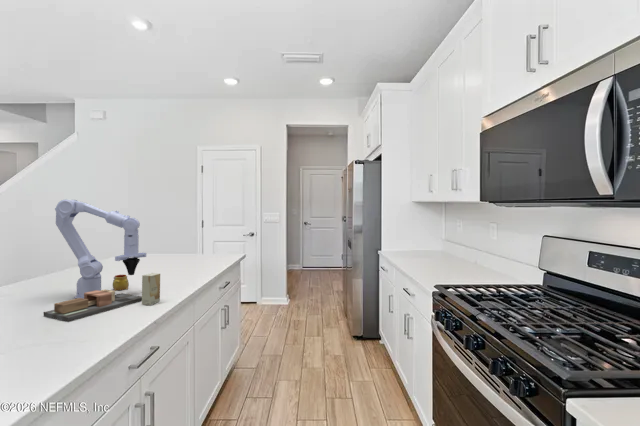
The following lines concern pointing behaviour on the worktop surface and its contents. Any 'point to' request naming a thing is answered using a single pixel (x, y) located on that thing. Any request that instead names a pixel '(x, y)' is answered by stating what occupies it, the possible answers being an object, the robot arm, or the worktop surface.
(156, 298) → the skincare box
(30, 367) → the worktop surface
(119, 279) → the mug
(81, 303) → the tan wooden brick
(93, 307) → the plate
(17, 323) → the worktop surface
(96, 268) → the robot arm
